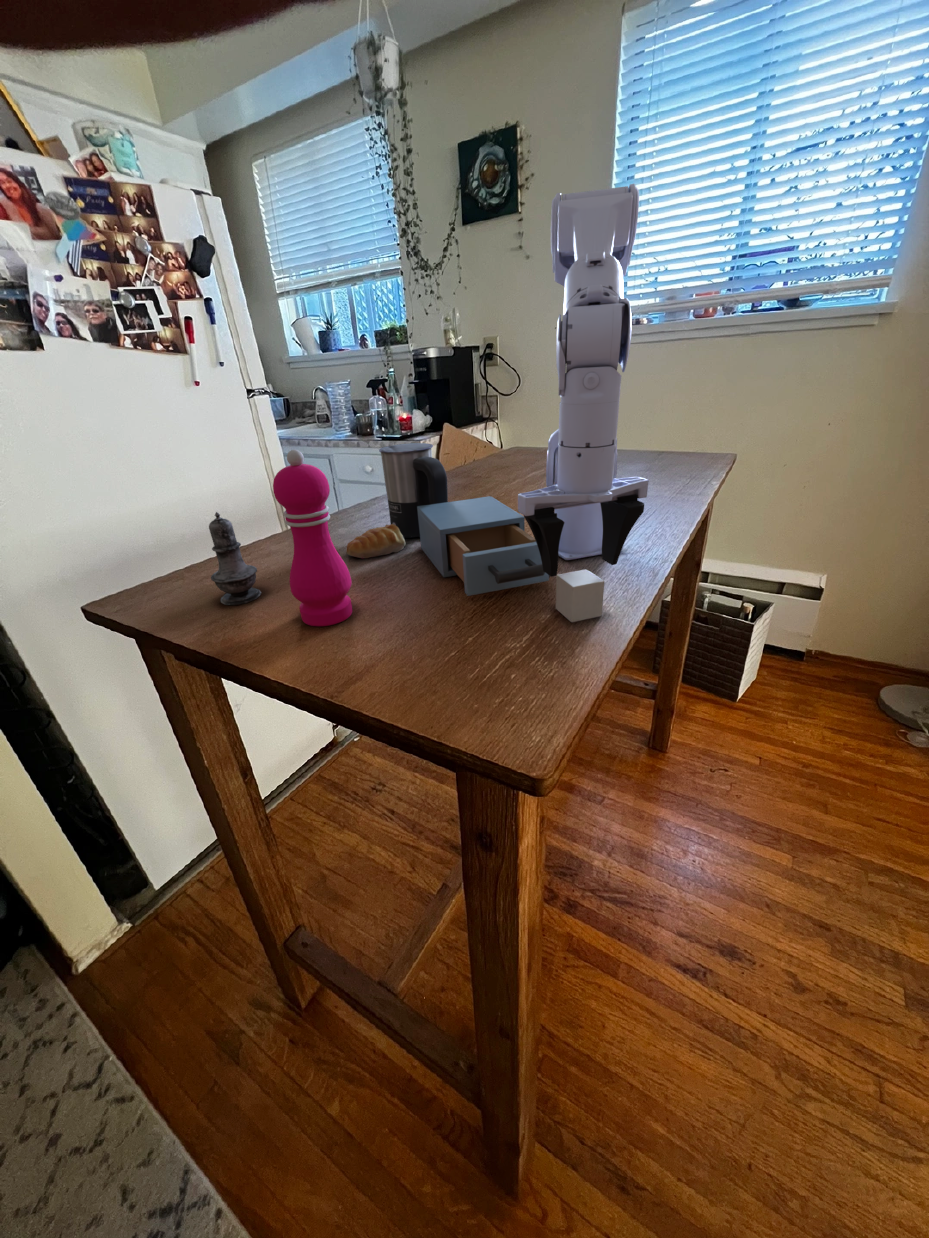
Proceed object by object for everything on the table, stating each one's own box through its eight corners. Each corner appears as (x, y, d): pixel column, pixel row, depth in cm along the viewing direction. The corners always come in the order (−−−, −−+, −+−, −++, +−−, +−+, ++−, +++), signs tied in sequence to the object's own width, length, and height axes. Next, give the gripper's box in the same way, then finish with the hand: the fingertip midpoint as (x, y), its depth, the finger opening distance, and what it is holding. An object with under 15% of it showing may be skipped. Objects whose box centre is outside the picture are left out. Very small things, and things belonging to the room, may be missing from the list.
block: (584, 602, 62) (586, 568, 60) (601, 616, 59) (604, 580, 57) (555, 608, 61) (556, 574, 59) (571, 622, 58) (573, 587, 56)
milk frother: (379, 535, 91) (367, 450, 84) (429, 512, 102) (422, 435, 96) (444, 545, 84) (437, 453, 77) (490, 519, 96) (487, 438, 89)
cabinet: (524, 563, 75) (524, 516, 71) (443, 577, 72) (439, 529, 68) (492, 537, 86) (490, 496, 83) (421, 548, 83) (416, 506, 80)
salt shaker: (219, 610, 66) (191, 521, 61) (216, 594, 71) (190, 511, 65) (266, 599, 68) (243, 513, 63) (260, 584, 73) (238, 503, 68)
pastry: (359, 564, 78) (355, 541, 76) (339, 554, 83) (335, 532, 81) (409, 549, 83) (406, 526, 82) (388, 540, 88) (385, 519, 86)
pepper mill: (327, 634, 59) (289, 457, 49) (285, 621, 62) (243, 454, 53) (368, 609, 64) (342, 445, 55) (328, 598, 67) (296, 443, 58)
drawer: (564, 593, 63) (565, 553, 60) (478, 609, 60) (476, 568, 57) (512, 551, 77) (511, 517, 75) (441, 563, 74) (438, 528, 72)
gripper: (539, 457, 46) (537, 592, 52) (673, 440, 49) (656, 568, 56) (509, 446, 52) (511, 568, 58) (630, 432, 55) (620, 548, 62)
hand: (580, 567), depth 57 cm, fingers open, 7 cm apart
